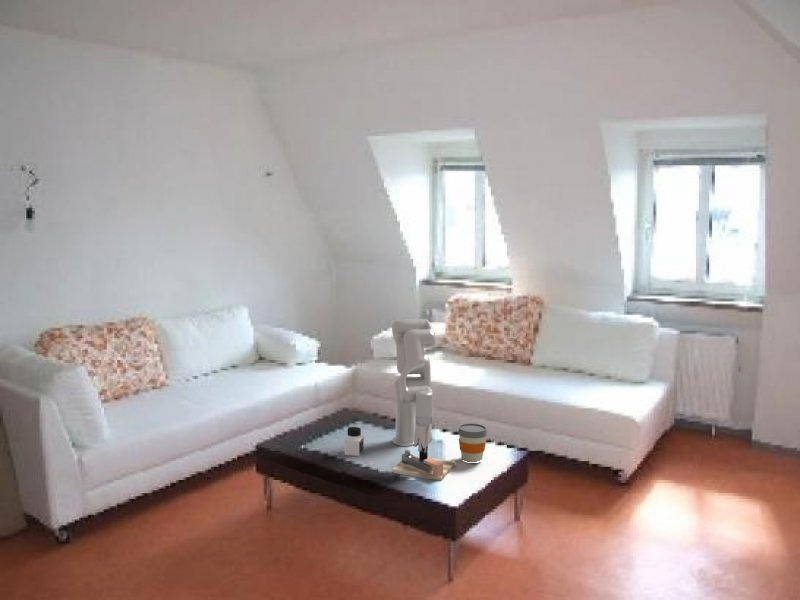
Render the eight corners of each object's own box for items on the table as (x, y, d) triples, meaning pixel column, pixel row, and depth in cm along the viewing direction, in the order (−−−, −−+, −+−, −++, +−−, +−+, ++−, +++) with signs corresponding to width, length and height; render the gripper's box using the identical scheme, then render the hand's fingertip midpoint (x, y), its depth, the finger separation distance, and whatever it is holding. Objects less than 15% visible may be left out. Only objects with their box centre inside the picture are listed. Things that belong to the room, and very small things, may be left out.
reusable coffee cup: (482, 467, 284) (483, 433, 282) (454, 463, 288) (455, 430, 286) (488, 457, 296) (489, 425, 294) (461, 453, 300) (462, 421, 298)
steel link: (399, 460, 285) (399, 455, 285) (407, 458, 288) (407, 452, 288) (426, 472, 272) (426, 467, 272) (435, 469, 275) (435, 464, 275)
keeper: (423, 471, 275) (423, 459, 274) (430, 469, 277) (430, 457, 277) (436, 476, 269) (436, 465, 268) (443, 474, 272) (443, 462, 271)
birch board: (408, 457, 294) (408, 443, 293) (455, 465, 286) (455, 450, 285) (392, 472, 277) (392, 456, 276) (441, 480, 269) (441, 464, 268)
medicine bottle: (359, 456, 296) (359, 430, 294) (344, 455, 297) (344, 429, 296) (363, 450, 303) (363, 425, 301) (348, 449, 304) (348, 424, 302)
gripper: (421, 413, 288) (421, 453, 290) (409, 423, 274) (408, 465, 276) (438, 415, 285) (437, 456, 287) (426, 425, 271) (425, 468, 273)
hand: (423, 460), depth 282 cm, fingers closed
